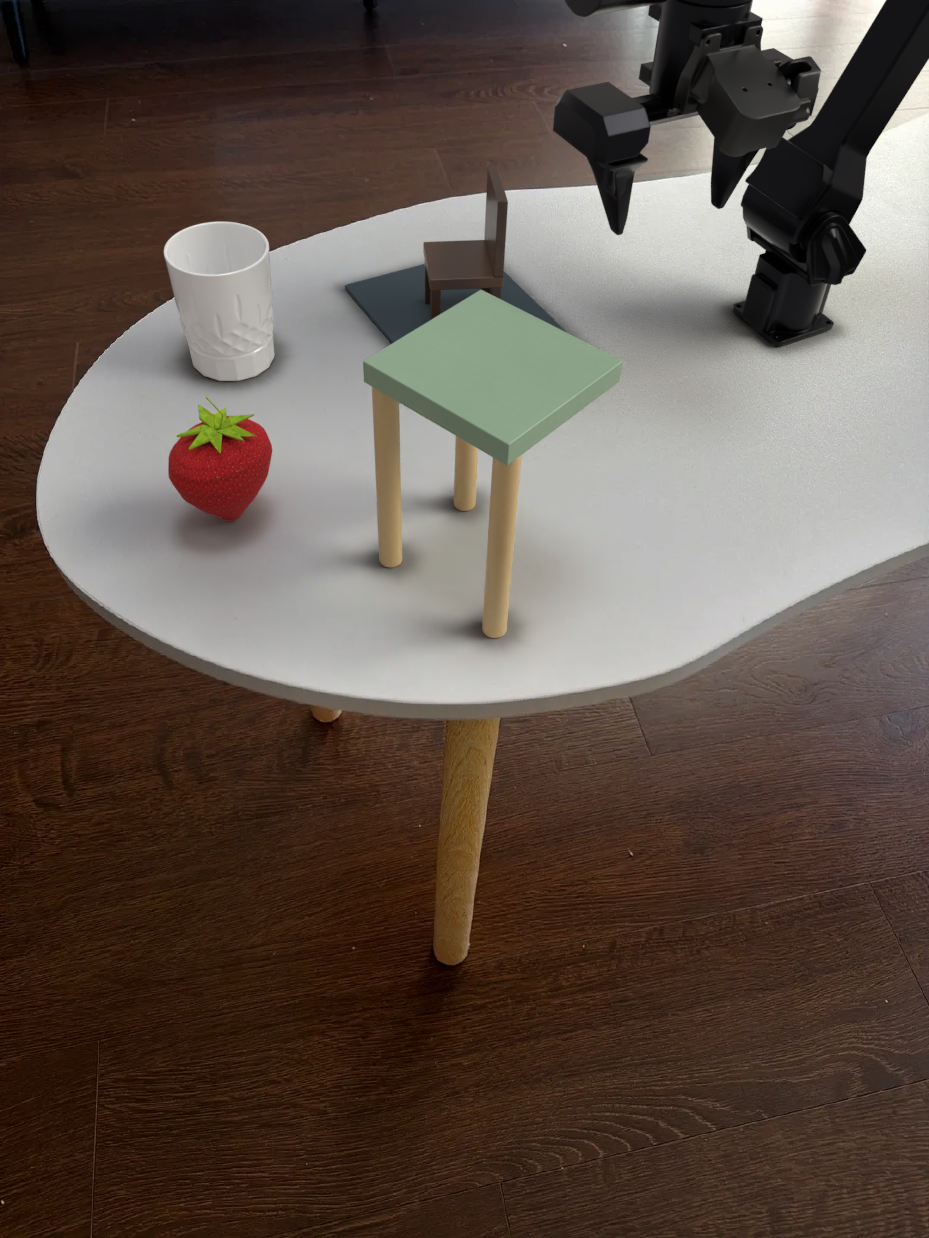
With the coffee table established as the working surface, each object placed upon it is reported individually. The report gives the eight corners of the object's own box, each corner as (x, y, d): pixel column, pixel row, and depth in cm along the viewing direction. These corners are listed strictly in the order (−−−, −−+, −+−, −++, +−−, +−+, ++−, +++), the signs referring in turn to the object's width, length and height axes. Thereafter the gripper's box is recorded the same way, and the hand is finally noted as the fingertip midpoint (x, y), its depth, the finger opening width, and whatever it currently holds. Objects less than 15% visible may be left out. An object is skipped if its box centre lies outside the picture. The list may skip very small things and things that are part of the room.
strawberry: (162, 523, 77) (134, 409, 70) (245, 473, 81) (227, 360, 74) (215, 565, 75) (192, 451, 67) (298, 511, 79) (285, 398, 71)
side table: (472, 487, 81) (480, 289, 69) (591, 559, 76) (623, 360, 64) (372, 561, 76) (362, 360, 63) (493, 644, 71) (508, 444, 59)
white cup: (263, 393, 88) (249, 281, 80) (170, 379, 89) (147, 267, 81) (293, 338, 93) (282, 228, 85) (205, 325, 94) (186, 215, 86)
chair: (490, 296, 97) (497, 164, 88) (499, 335, 93) (508, 201, 84) (423, 299, 97) (423, 166, 88) (429, 338, 93) (430, 204, 84)
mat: (481, 252, 103) (481, 249, 103) (585, 353, 93) (585, 349, 92) (344, 288, 98) (344, 284, 98) (438, 399, 88) (438, 395, 88)
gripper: (662, 62, 63) (624, 303, 74) (905, 14, 69) (835, 242, 80) (560, -4, 69) (539, 227, 81) (791, -43, 75) (740, 176, 87)
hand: (667, 219), depth 82 cm, fingers open, 9 cm apart
